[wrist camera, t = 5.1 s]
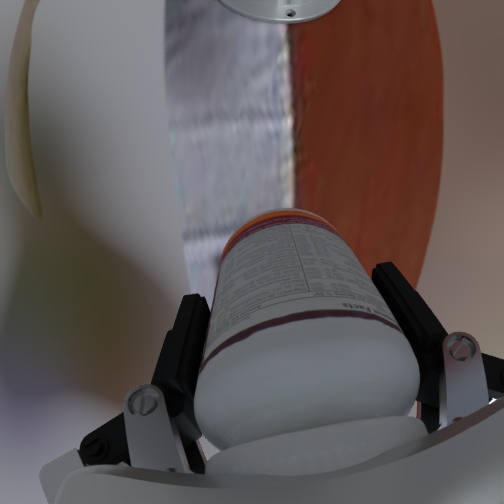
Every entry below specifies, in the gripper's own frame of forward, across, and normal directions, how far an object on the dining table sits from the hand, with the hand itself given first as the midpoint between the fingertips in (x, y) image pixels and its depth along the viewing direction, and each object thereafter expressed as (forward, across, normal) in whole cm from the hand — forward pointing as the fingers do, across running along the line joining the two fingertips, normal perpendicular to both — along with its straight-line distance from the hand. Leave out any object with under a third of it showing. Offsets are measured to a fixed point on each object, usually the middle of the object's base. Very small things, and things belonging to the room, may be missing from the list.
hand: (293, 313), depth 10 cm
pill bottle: (+4, 0, 0) cm, 4 cm away
